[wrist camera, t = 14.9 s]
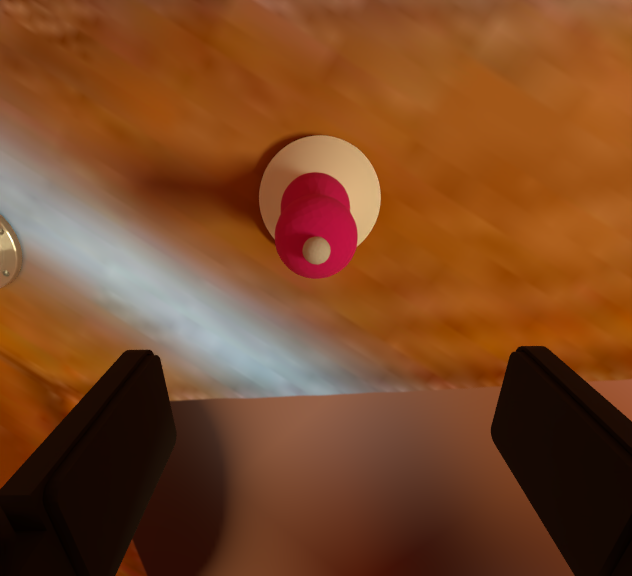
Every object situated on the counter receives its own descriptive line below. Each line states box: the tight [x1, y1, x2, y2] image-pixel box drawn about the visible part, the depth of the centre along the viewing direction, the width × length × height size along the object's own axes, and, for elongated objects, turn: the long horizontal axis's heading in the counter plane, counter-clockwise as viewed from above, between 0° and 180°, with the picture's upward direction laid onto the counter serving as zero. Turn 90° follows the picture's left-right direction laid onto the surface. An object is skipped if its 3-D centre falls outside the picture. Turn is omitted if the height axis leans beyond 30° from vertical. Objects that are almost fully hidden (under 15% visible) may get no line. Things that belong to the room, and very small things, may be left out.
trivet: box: [259, 135, 381, 246], centre depth 40 cm, size 14×14×2 cm
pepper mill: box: [275, 172, 358, 279], centre depth 30 cm, size 7×7×20 cm
